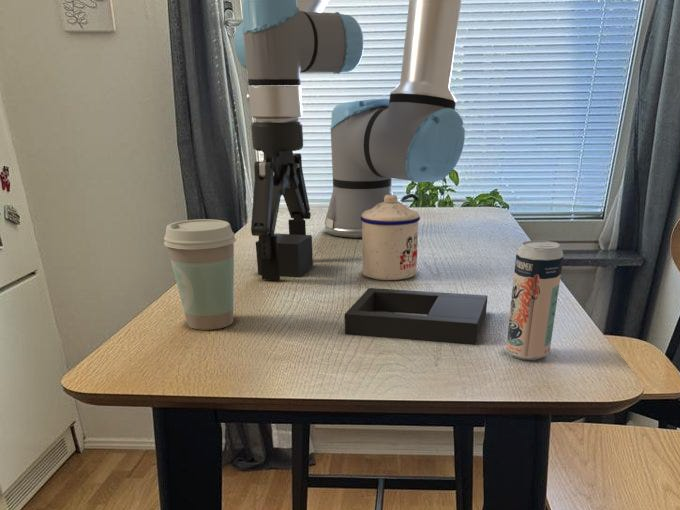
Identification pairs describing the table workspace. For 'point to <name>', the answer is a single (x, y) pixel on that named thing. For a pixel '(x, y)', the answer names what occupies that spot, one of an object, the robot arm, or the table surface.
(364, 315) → the black rectangular tray
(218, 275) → the coffee cup
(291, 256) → the matte black cube
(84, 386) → the table surface
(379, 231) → the teacup with lid
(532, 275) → the beer can
